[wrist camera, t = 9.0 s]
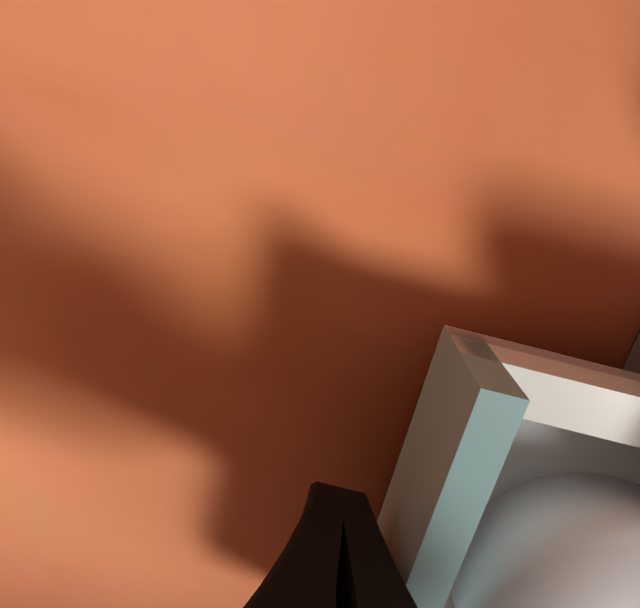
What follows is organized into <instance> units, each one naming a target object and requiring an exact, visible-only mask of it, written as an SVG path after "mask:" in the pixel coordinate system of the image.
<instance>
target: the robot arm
mask: <svg viewBox="0 0 640 608" xmlns="http://www.w3.org/2000/svg"><path fill="white" fill-rule="evenodd" d="M243 608H418V607H417V605H416V603H415V601H414V599H413V598H412V596H411V594H410V592H409V590H408V588H407V586H406V584H405V582H404V581H403V579H402V577H401V575H400V572H399V570H398V568H397V566H396V564H395V562H394V560H393V558H392V556H391V554H390V552H389V549H388V547H387V545H386V543H385V540H384V538H383V536H382V533H381V531H380V529H379V526H378V524H377V521H376V519H375V516H374V514H373V511H372V508H371V506H370V503H369V500H368V498H367V496H366V495H365V493H361V492H357V491H353V490H349V489H345V488H341V487H337V486H333V485H329V484H324V483H320V482H315V483H313V484H311V486H310V490H309V493H308V497H307V500H306V504H305V508H304V511H303V514H302V516H301V518H300V521H299V523H298V524H297V526H296V528H295V530H294V532H293V534H292V536H291V538H290V540H289V542H288V543H287V545H286V547H285V548H284V550H283V552H282V553H281V555H280V556H279V558H278V559H277V561H276V563H275V564H274V566H273V567H272V569H271V570H270V572H269V573H268V575H267V576H266V578H265V579H264V581H263V582H262V583H261V585H260V586H259V588H258V589H257V590H256V592H255V593H254V594H253V596H252V597H251V598H250V600H249V601H248V602H247V603H246V605H245V606H244V607H243Z"/></svg>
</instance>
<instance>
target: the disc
mask: <svg viewBox="0 0 640 608" xmlns="http://www.w3.org/2000/svg"><path fill="white" fill-rule="evenodd" d="M450 592H451V596H452V600H453V604H454V608H640V485H638V484H635V483H632V482H630V481H627V480H625V479H621V478H617V477H613V476H609V475H602V474H594V473H567V474H557V475H552V476H547V477H542V478H538V479H535V480H532V481H529V482H525V483H523V484H521V485H518V486H516V487H514V488H511V489H509V490H508V491H506V492H504V493H502V494H501V495H499V496H497V497H495V498H494V499H493V500H491V501H490V502H489V503H487V505H486V507H485V510H484V512H483V515H482V517H481V519H480V522H479V524H478V527H477V529H476V531H475V534H474V536H473V539H472V541H471V543H470V546H469V548H468V551H467V553H466V555H465V558H464V560H463V562H462V565H461V567H460V570H459V572H458V574H457V577H456V579H455V582H454V584H453V586H452V589H451V591H450Z"/></svg>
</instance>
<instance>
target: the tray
mask: <svg viewBox="0 0 640 608" xmlns="http://www.w3.org/2000/svg"><path fill="white" fill-rule="evenodd" d="M567 473H594V474H602V475H609V476H613V477H617V478H621V479H625V480H627V481H630V482H632V483H635V484H638V485H640V374H638V373H634V372H630V371H626V370H622V369H618V368H614V367H610V366H606V365H603V364H599V363H595V362H591V361H587V360H583V359H579V358H575V357H571V356H567V355H563V354H559V353H555V352H551V351H547V350H543V349H539V348H535V347H531V346H527V345H523V344H519V343H515V342H511V341H507V340H503V339H499V338H495V337H491V336H487V335H483V334H479V333H475V332H472V331H468V330H464V329H460V328H456V327H452V326H448V325H444V326H443V329H442V332H441V335H440V338H439V341H438V344H437V347H436V350H435V353H434V355H433V358H432V361H431V364H430V367H429V370H428V373H427V376H426V379H425V382H424V385H423V388H422V391H421V394H420V397H419V400H418V403H417V406H416V408H415V411H414V414H413V417H412V420H411V423H410V426H409V429H408V432H407V435H406V438H405V441H404V444H403V447H402V450H401V453H400V456H399V459H398V461H397V464H396V467H395V470H394V473H393V476H392V479H391V482H390V485H389V488H388V491H387V494H386V497H385V500H384V503H383V506H382V509H381V512H380V514H379V517H378V520H377V524H378V526H379V529H380V531H381V533H382V536H383V538H384V540H385V543H386V545H387V547H388V549H389V552H390V554H391V556H392V558H393V560H394V562H395V564H396V566H397V568H398V570H399V572H400V575H401V577H402V579H403V581H404V582H405V584H406V586H407V588H408V590H409V592H410V594H411V596H412V598H413V599H414V601H415V603H416V605H417V607H418V608H454V604H453V600H452V596H451V592H450V591H451V589H452V586H453V584H454V582H455V579H456V577H457V574H458V572H459V570H460V567H461V565H462V562H463V560H464V558H465V555H466V553H467V551H468V548H469V546H470V543H471V541H472V539H473V536H474V534H475V531H476V529H477V527H478V524H479V522H480V519H481V517H482V515H483V512H484V510H485V507H486V505H487V503H489V502H490V501H491V500H493V499H494V498H495V497H497V496H499V495H501V494H502V493H504V492H506V491H508V490H509V489H511V488H514V487H516V486H518V485H521V484H523V483H525V482H529V481H532V480H535V479H538V478H542V477H547V476H552V475H557V474H567Z"/></svg>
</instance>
